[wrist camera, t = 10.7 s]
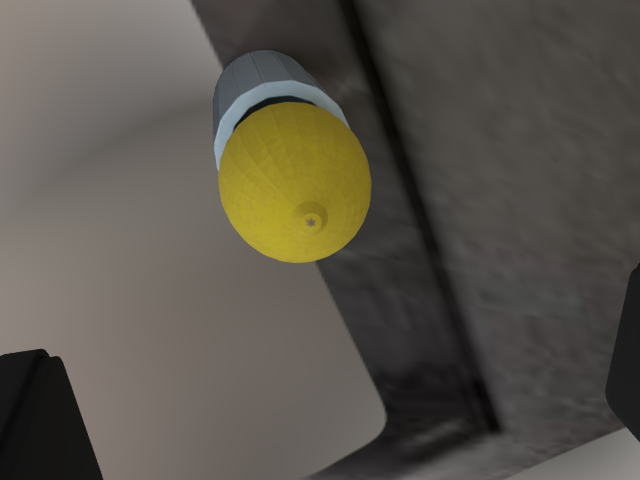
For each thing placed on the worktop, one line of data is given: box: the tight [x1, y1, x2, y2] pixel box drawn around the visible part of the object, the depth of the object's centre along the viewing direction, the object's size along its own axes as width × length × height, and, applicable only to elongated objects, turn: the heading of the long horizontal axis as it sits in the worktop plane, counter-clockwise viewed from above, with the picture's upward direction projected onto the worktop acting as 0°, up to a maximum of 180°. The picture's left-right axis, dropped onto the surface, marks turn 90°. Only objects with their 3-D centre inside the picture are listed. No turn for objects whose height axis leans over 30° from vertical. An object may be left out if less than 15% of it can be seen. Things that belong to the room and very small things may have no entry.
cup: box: [213, 50, 350, 173], centre depth 27 cm, size 6×6×9 cm
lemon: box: [218, 102, 371, 263], centre depth 21 cm, size 6×6×8 cm
